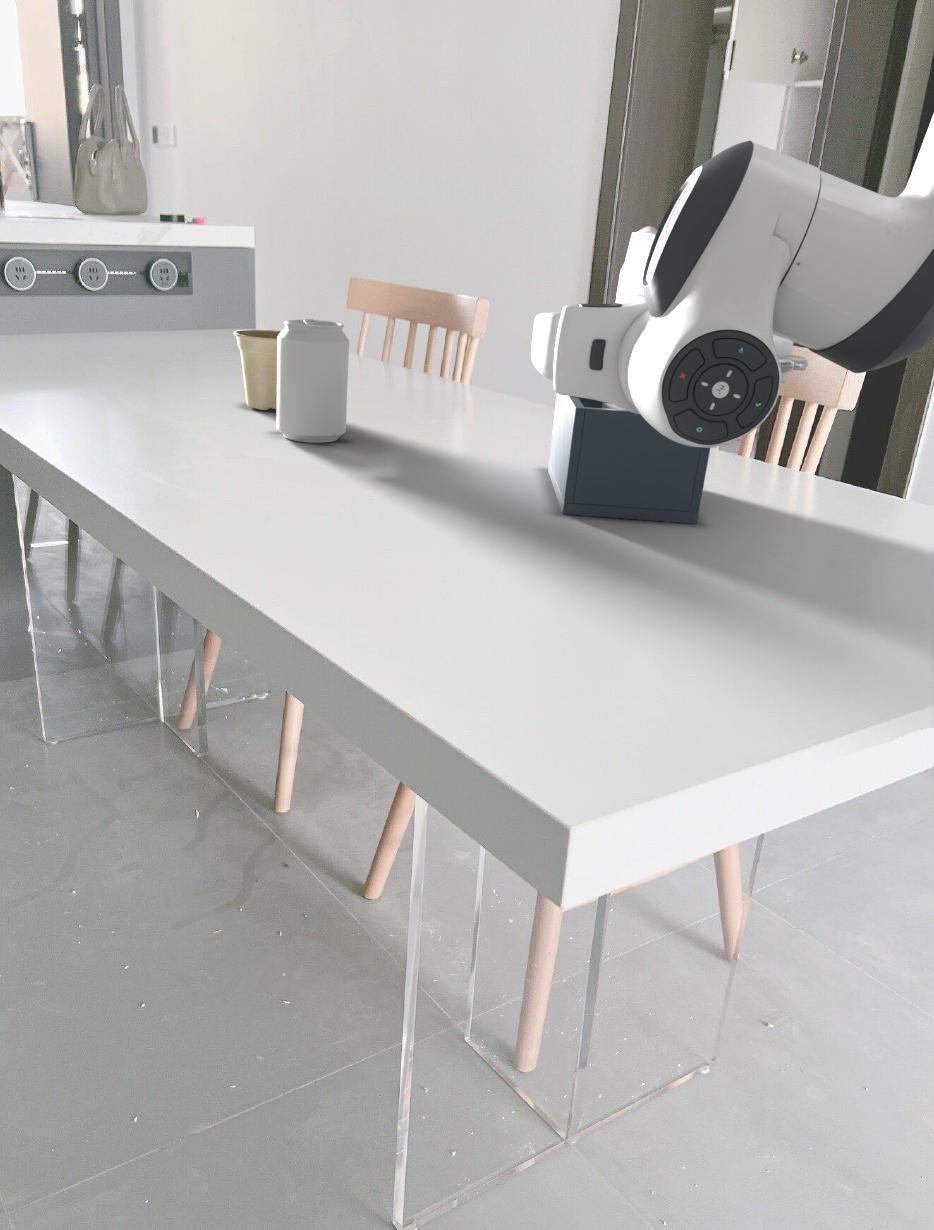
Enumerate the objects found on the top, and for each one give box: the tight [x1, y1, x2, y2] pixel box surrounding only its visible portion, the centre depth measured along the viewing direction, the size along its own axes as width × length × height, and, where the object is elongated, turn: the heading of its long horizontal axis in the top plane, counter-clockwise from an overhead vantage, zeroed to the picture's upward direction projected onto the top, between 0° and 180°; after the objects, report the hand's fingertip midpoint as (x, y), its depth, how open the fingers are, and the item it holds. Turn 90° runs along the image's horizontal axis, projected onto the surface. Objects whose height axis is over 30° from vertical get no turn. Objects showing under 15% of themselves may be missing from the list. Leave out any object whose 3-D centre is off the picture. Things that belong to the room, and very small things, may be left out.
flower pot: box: [233, 329, 283, 411], centre depth 129 cm, size 9×9×9 cm
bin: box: [547, 393, 711, 525], centre depth 98 cm, size 12×18×9 cm, turn 177°
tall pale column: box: [602, 225, 658, 410], centre depth 95 cm, size 11×4×22 cm, turn 6°
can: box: [276, 318, 350, 444], centre depth 113 cm, size 8×8×12 cm
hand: (645, 338), depth 91 cm, fingers open, 8 cm apart
